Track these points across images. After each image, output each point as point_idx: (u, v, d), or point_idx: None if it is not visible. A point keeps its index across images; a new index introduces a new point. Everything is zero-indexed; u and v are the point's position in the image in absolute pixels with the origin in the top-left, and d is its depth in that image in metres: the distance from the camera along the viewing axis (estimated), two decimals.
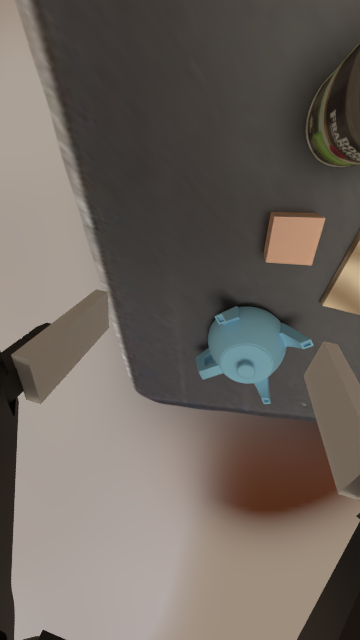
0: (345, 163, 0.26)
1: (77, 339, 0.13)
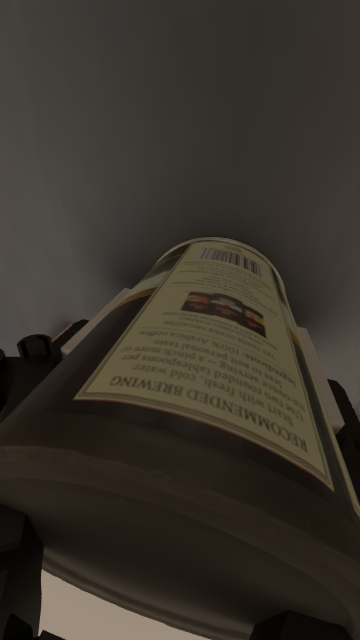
0: None
1: None
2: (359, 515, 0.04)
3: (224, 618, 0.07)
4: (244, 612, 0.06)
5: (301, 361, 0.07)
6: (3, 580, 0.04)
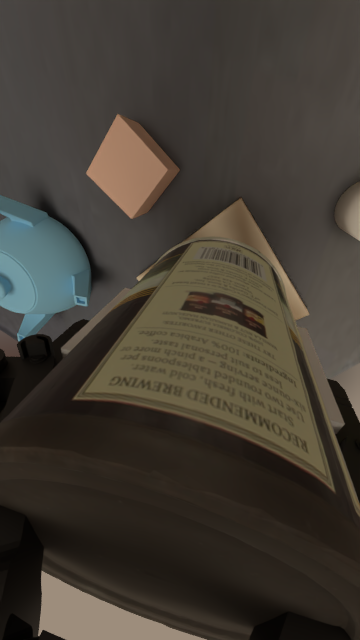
0: None
1: None
2: None
3: (224, 619, 0.06)
4: (244, 614, 0.06)
5: (301, 361, 0.07)
6: (3, 580, 0.04)
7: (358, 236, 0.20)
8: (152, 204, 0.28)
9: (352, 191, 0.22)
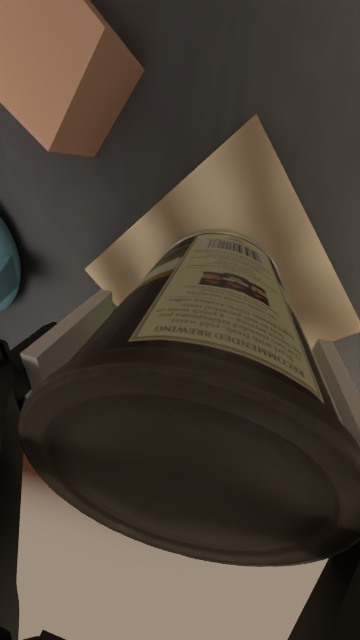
0: None
1: (83, 338, 0.13)
2: None
3: (237, 534, 0.08)
4: (255, 519, 0.07)
5: (297, 326, 0.09)
6: None
7: None
8: (99, 139, 0.16)
9: None
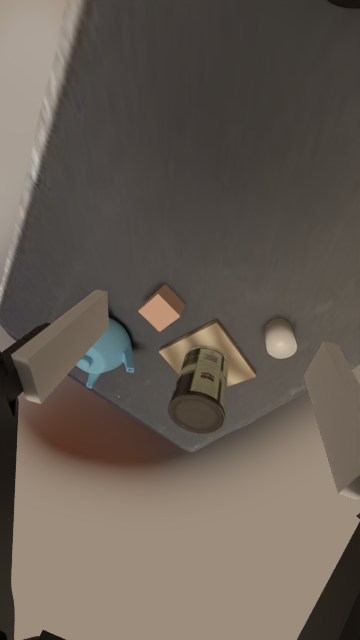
0: None
1: (77, 339, 0.13)
2: (220, 403, 0.41)
3: (206, 424, 0.43)
4: (209, 419, 0.42)
5: (219, 385, 0.44)
6: None
7: (268, 352, 0.44)
8: None
9: (269, 326, 0.46)
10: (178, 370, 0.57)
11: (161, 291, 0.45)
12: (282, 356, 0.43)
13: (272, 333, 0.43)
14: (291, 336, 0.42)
